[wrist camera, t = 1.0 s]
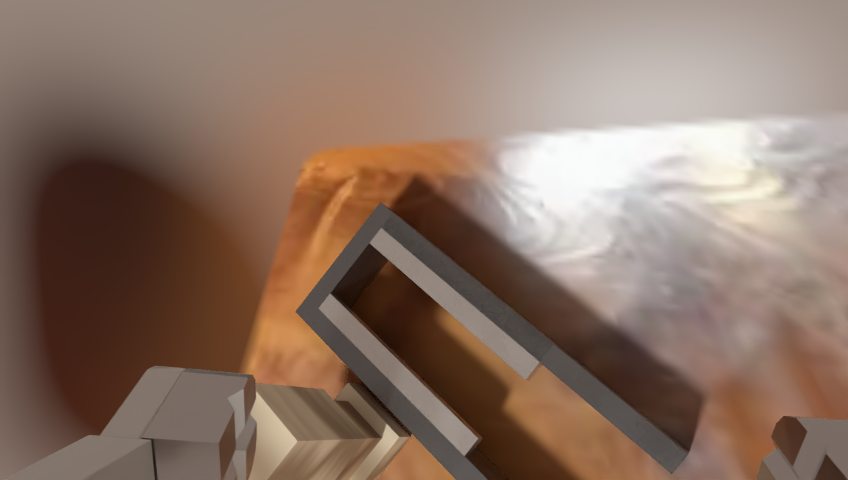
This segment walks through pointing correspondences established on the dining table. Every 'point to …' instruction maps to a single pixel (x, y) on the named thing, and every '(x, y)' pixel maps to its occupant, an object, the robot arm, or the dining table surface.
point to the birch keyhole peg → (322, 434)
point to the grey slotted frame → (480, 316)
